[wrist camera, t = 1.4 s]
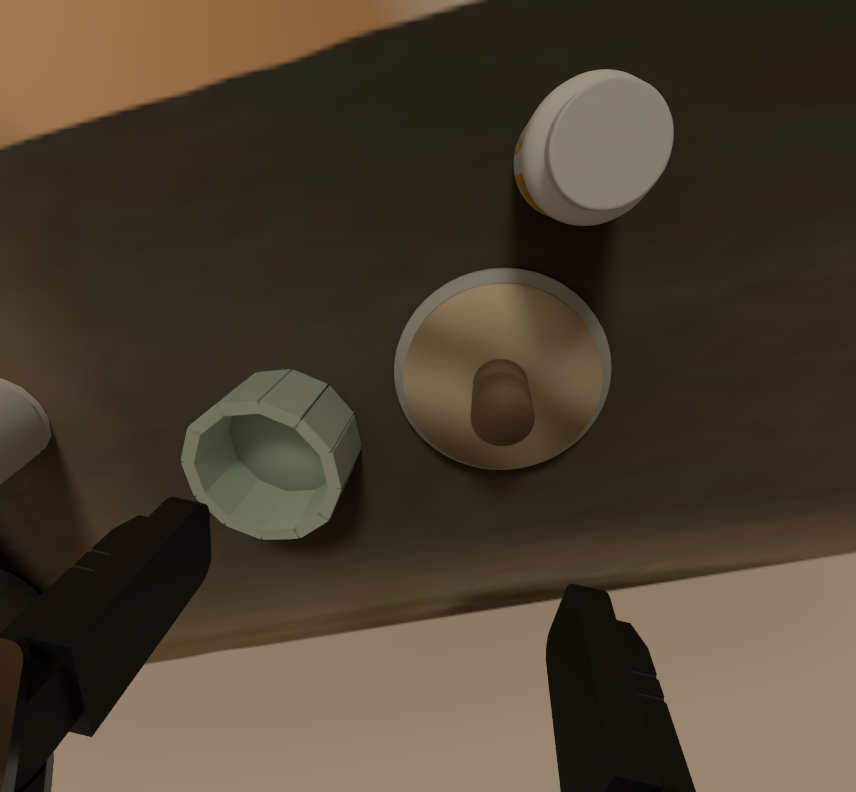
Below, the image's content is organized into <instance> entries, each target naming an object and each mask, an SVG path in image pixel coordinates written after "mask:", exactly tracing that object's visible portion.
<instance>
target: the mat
mask: <svg viewBox="0 0 856 792" xmlns="http://www.w3.org/2000/svg"><path fill="white" fill-rule="evenodd" d="M495 282H512V283H521V284H526V285H530V286H534V287H537V288H539V289H542V290H545V291H547V292H549V293H551V294H553V295H555V296H556V297H558V298H559V299H561V300H562V301H564V302H565V303H566V304H568V305H569V306H570V307H571V308H572V309H573V310H574V311H575V312H576V313H577V314H578V315H579V317H580V318H581V319H582V321H583V322H584V323H585V324H586V326H587V327H588V329H589V330H590V332H591V334H592V336H593V338H594V339H595V342H596V345H597V347H598V350H599V353H600V358H601V362H602V373H603V379H602V389H601V394H600V398H599V402H598V404H597V407H596V410H595V412H594V414H593V416H592V418H591V419H590V421H589V423H588V424H587V426H586V427H585V428H584V430H583V431H582V432H581V434H580V435H579V436H578V437H577V438H576V439H575V440H574V441H573V442H572V443H570V444H569V445H568V446H567V447H566V448H564V449H563V450H561V451H560V452H558V453H557V454H555V455H553V456H551V457H549V458H547V459H545V460H543V461H540V462H538V463H535V464H532V465H528V466H533V465H536V464H539V463H541V462H544V461H547V460H549V459H551V458H553V457H555V456H557V455H559V454H560V453H562V452H563V451H565V450H567V449H568V448H569V447H571V446H572V445H573V444H574V443H576V442H577V441H578V440H579V439H580V438H581V437H582V436H583V435H584V434H585V433H586V432H587V431H588V430H589V428H590V427H591V426H592V424H593V423H594V421H595V420H596V418H597V417H598V415H599V413H600V411H601V409H602V407H603V405H604V402H605V400H606V397H607V394H608V390H609V385H610V379H611V355H610V351H609V346H608V341H607V339H606V336H605V333H604V331H603V328H602V326H601V325H600V323H599V321H598V319H597V317H596V316H595V315H594V313H593V312H592V311H591V309H590V308H589V307H588V305H587V304H586V303H585V302H584V301H583V300H582V299H581V298H580V297H579V296H578V295H577V294H576V293H575V292H573V291H572V290H571V289H569V288H568V287H566V286H565V285H564V284H562V283H560V282H558V281H556V280H555V279H553V278H551V277H548V276H546V275H543V274H540V273H537V272H534V271H529V270H525V269H519V268H490V269H484V270H479V271H475V272H472V273H468V274H465V275H462V276H460V277H458V278H456V279H454V280H452V281H450V282H448V283H446V284H445V285H443V286H442V287H440V288H439V289H437V290H436V291H435V292H433V293H432V294H431V295H430V296H429V297H428V298H426V299H425V300H424V302H423V303H422V304H421V305H420V306H419V307H418V308H417V309H416V311H415V312H414V314H413V315H412V317H411V318H410V320H409V321H408V323H407V325H406V327H405V329H404V331H403V333H402V335H401V338H400V341H399V344H398V347H397V351H396V357H395V368H394V377H395V386H396V391H397V395H398V399H399V402H400V404H401V407H402V409H403V412H404V414H405V415H406V417H407V419H408V421H409V422H410V424H411V425H412V426H413V428H414V429H415V431H416V432H417V433H418V434H419V435H420V436H421V437H422V438H423V439H424V440H425V441H426V442H427V443H428V444H429V445H431V446H432V447H433V448H434V449H436V450H437V451H439V452H440V453H442V454H444V455H445V456H447V457H449V458H451V459H453V460H455V461H458V462H460V463H463V464H466V465H469V466H474V465H470V464H468V463H465V462H462V461H459V460H457V459H455V458H453V457H451V456H449V455H448V454H446V453H445V452H443V451H441V450H440V449H439V448H437V447H436V446H435V445H434V444H433V443H431V442H430V441H429V440H428V438H427V437H426V436H425V435H424V434H423V433H422V432H421V430H420V429H419V428H418V426H417V425H416V423H415V421H414V419H413V418H412V416H411V414H410V411H409V409H408V406H407V403H406V399H405V395H404V388H403V368H404V363H405V357H406V354H407V351H408V348H409V346H410V343H411V341H412V339H413V337H414V335H415V333H416V331H417V329H418V328H419V327H420V325H421V324H422V322H423V321H424V319H425V318H426V317H427V316H428V315H429V314H430V313H431V312H432V310H434V309H435V308H436V307H437V306H438V305H439V304H441V303H442V302H443V301H445V300H446V299H448V298H449V297H451V296H452V295H454V294H456V293H459V292H461V291H463V290H465V289H468V288H471V287H474V286H477V285H482V284H487V283H495ZM528 466H523V467H519V468H524V467H528ZM474 467H478V468H483V467H479V466H474ZM483 469H492V468H483ZM510 469H518V468H510ZM492 470H509V469H492Z"/></svg>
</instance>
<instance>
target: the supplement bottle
mask: <svg viewBox="0 0 856 792" xmlns="http://www.w3.org/2000/svg"><path fill="white" fill-rule="evenodd" d="M672 145H673V121H672V117H671V113H670V110H669V108H668V106H667V104H666V102H665V100H664V99H663V97H662V96H661V95H660V93H659V92H658V91H657V90H656V89H655V88H654V87H652V86H651V85H650V84H648V83H646V82H644V81H642V80H640V79H638V78H637V77H635V76H633V75H630V74H628V73H625V72H622V71H617V70H607V69H605V70H594V71H589V72H586V73H583V74H580V75H577V76H575V77H573V78H571V79H569V80H568V81H566V82H564V83H563V84H561V85H560V86H559V87H557V88H556V89H555V90H554V91H552V92H551V93H550V94H549V95H548V96H547V97H546V98H545V99H544V100H543V102H542V103H541V104H540V105H539V107H538V108H537V110H536V111H535V113H534V114H533V116H532V117H531V119H530V121H529V122H528V124H527V125H526V127H525V128H524V130H523V132H522V134H521V136H520V138H519V140H518V143H517V146H516V150H515V155H514V175H515V180H516V183H517V186H518V189H519V191H520V193H521V194H522V196H523V197H524V199H525V200H526V201H527V203H528V204H529V205H530V206H532V207H533V208H534V209H535V210H537V211H538V212H540V213H542V214H544V215H547V216H549V217H551V218H553V219H555V220H558V221H560V222H563V223H566V224H570V225H577V226H591V225H598V224H601V223H605V222H608V221H610V220H613V219H615V218H617V217H619V216H621V215H623V214H624V213H626V212H627V211H629V210H630V209H631V208H633V207H634V206H635V205H636V204H637V203H638V202H639V201H640V200H641V199H642V198H643V197H644V196H645V195H646V194H647V192H648V191H649V190H650V188H651V187H652V186H653V185H654V184H655V183H656V181H657V180H658V179H659V177H660V176H661V174H662V172H663V171H664V169H665V167H666V165H667V162H668V160H669V157H670V153H671V149H672Z"/></svg>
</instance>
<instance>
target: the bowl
mask: <svg viewBox="0 0 856 792" xmlns="http://www.w3.org/2000/svg"><path fill="white" fill-rule="evenodd" d="M327 385H328V384H327V383H324V382H322V381H320V380H317V379H315V378H312V377H310V376H308V375H305V374H303V373H300V372H298V371H296V370H292V371H291V369H287V370H276V371H266V372H256V373H254V374H253V375H252V376H250V377H249V378H248V379H247V380H245V381H244V382H243V383H242V384H240V385H239V386H238V387H237V388H235V389H234V390H233V391H232V392H230V393H229V394H228V395H227V396H225V397H224V398H223V399H222V400H220V401H219V402H218V403H217V404H215V405H214V406H213V407H212V408H210V409H209V410H208V411H207V412H206V413H204V414H203V415H202V416H201V417H199V418H198V419H197V420H196V421H194V422H193V423H192V424H191V425H190V426H189V427H188V428H187V433H186V437H185V442H184V447H183V452H182V457H181V460H182V462H181V464H182V466H183V469H184V472H185V474H186V477H187V479H188V482H189V484H190V487H191V490H192V492H193V495H194V496H197V497H196V499H197V500H198V501H199V502H200V503H204V504H206V505H207V506H208V508H209V511H210V512H211V513H212V514H213V515H214V516H215V517H216V518H217V519H218V520H219V521H220V522H221V523H222V524H224V523H225V522H226V524H225V526H228V527H230V528H233V529H235V530H238V531H240V532H243V533H246V534H248V535H251V536H253V537H256V538H258V539H261V538H263V540H275V539H299V537H300V538H302V537H303V536H305V535H307V534H308V533H310V532H311V531H313V530H315V529H316V528H318V527H320V526H321V525H323V524H324V523H326V522H328V520H330V517H331V515H332V513H333V511H334V509H335V507H336V505H337V503H338V500H339V498H340V496H341V494H342V492H343V490H344V488H345V486H346V484H347V481H348V479H349V477H350V475H351V473H352V470H353V468H354V465H355V463H356V460H357V458H358V455H359V453H360V450H361V441H360V437H359V432H358V428H357V423H356V418H355V415H353V413H354V412H353V411H352V410H351V409H350V408H349V407H348V406H347V404H346V403H345V402H344V401H343V400H342V399H341V398H340V396H339V395H338V394H337V393H336V392H335V391H334V390H333V388H332V387H331V386H328V387H327Z"/></svg>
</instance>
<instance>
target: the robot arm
mask: <svg viewBox="0 0 856 792" xmlns="http://www.w3.org/2000/svg"><path fill="white" fill-rule="evenodd" d="M210 561H211V537H210V515H209V508H208V506H207V505H206V504H204V503H199V502H195V501H190V500H185V499H181V498H176V497H170V498H168V499H166V500H165V501H164V502H163V503H162V504H161V505H160V506H159V507H158V508H157V509H156V510H155V511H154V512H153V513H152V514H151V515H150V516H149V517H145V516H141V515H138V516H137V517H135V518H133V519H131V520H129V521H127V522H125V523H123V524H121V525H119V526H118V527H116V528H114V529H112V530H111V531H110V532H109V533H108V534H107V535H106V536H105V537H104V538H102V539H101V540H100V541H99V542H98V543H97V544H96V545H95V546H94V547H93V548H92V551H91V552H87V553H86V554H85V555H84V556H83V557H82V558H81V559H80V560H79V561H77V562H76V563H75V566H74V568H70V569H69V570H68V571H67V572H66V573H64V574H63V575H62V576H61V577H60V578H59V579H58V580H57V581H56V582H55V583H54V584H53V585H51V586H50V587H49V588H48V589H47V590H46V591H45V592H44V593H43V594H42V595H40V594H39V593H38V592H37V591H36V590H35V589H34V588H33V587H31V586H30V585H29V584H28V583H26V582H25V581H23V580H22V579H20V578H18V577H17V576H15V575H13V574H11V573H8V572H6V571H3V570H0V792H51V785H52V773H53V763H54V754H53V751H54V750H55V749H56V747H57V746H58V745H59V743H60V742H61V741H62V740H63V738H64V737H65V736H66V734H67V733H68V732H73V733H77V734H81V735H85V736H90V737H92V736H93V735H94V733H95V732H96V731H97V729H98V728H99V726H100V725H101V723H102V722H103V721H104V719H105V718H106V717H107V715H108V714H109V712H110V711H111V710H112V708H113V707H114V705H115V704H116V703H117V701H118V700H119V698H120V697H121V695H122V694H123V693H124V691H125V690H126V689H127V687H128V686H129V684H130V683H131V682H132V680H133V679H134V678H135V676H136V674H137V673H138V672H139V671H140V669H141V668H142V666H143V665H144V664H145V662H146V661H147V659H148V658H149V657H150V655H151V654H152V652H153V651H154V650H155V648H156V647H157V645H158V644H159V643H160V641H161V640H162V638H163V637H164V636H165V634H166V633H167V632H168V630H169V629H170V627H171V626H172V625H173V623H174V622H175V620H176V619H177V618H178V616H179V615H180V613H181V612H182V611H183V609H184V608H185V606H186V605H187V604H188V602H189V601H190V599H191V598H192V597H193V595H194V594H195V592H196V591H197V590H198V588H199V587H200V585H201V584H202V582H203V581H204V579H205V577H206V574H207V572H208V569H209V566H210ZM546 664H547V674H548V683H549V692H550V701H551V709H552V718H553V727H554V736H555V745H556V753H557V762H558V771H559V780H560V789H561V792H696V790H695V788H694V785H693V782H692V779H691V776H690V773H689V770H688V767H687V764H686V761H685V758H684V755H683V752H682V749H681V746H680V743H679V740H678V737H677V734H676V731H675V728H674V725H673V722H672V719H671V716H670V713H669V710H668V707H667V704H666V703H665V702H664V695H663V692H662V689H661V686H660V683H659V680H657V679H656V675H657V674H656V671H655V668H654V665H653V662H652V659H651V656H650V653H649V650H648V648H647V646H646V645H645V643H644V642H643V640H642V639H641V638H640V636H639V635H638V634H637V632H636V631H635V629H634V628H633V626H632V625H631V624H630V623H627V622H622V621H618V620H616V617H615V614H614V610H613V607H612V603H611V600H610V597H609V595H608V593H607V592H606V591H603V590H598V589H594V588H589V587H584V586H580V585H575V584H569V585H568V586H567V588H566V590H565V593H564V595H563V598H562V600H561V603H560V606H559V608H558V610H557V613H556V616H555V618H554V621H553V623H552V626H551V628H550V632H549V634H548V639H547V647H546Z"/></svg>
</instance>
